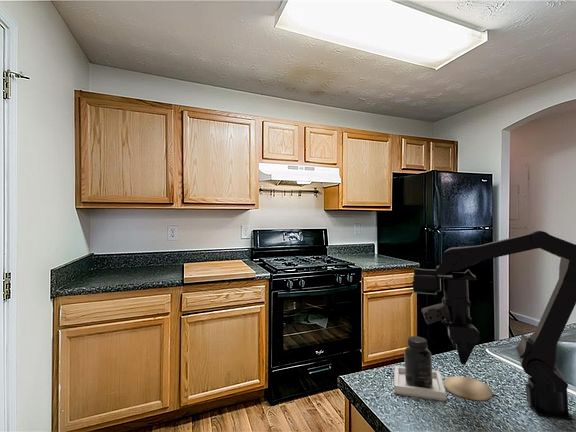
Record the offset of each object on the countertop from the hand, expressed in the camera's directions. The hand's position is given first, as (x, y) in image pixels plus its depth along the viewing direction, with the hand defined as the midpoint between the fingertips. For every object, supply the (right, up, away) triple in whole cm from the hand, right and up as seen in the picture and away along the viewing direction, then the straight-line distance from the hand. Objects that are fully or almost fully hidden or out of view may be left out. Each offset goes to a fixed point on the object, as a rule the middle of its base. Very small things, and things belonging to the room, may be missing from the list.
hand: (459, 356), depth 79 cm
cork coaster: (+3, -9, +1) cm, 9 cm away
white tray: (-9, -9, +3) cm, 14 cm away
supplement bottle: (-9, -9, +3) cm, 13 cm away
